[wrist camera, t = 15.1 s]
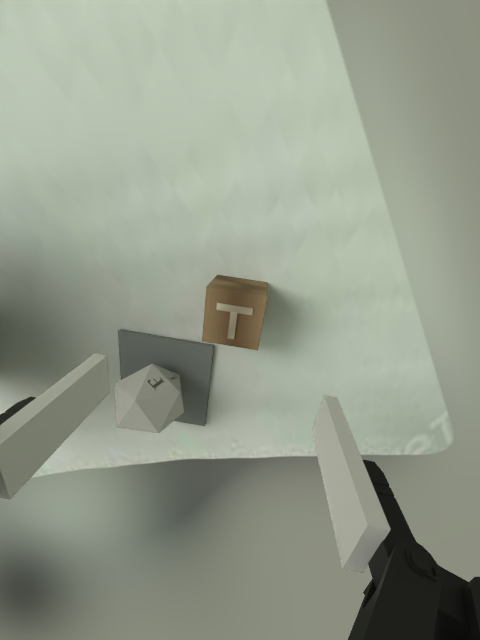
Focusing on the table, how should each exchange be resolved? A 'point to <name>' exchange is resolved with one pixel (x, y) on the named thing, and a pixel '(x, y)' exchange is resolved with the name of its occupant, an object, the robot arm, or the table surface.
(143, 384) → the die
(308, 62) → the table surface
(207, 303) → the letter block
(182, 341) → the grey mat
